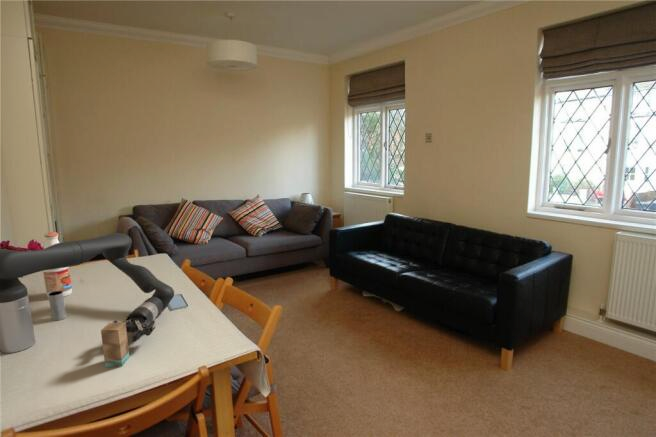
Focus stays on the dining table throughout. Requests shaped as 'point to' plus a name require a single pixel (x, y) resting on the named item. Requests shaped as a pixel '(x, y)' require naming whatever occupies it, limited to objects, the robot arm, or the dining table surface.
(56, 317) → the planter
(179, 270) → the dining table surface
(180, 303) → the smartphone
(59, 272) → the white strawberry milk bottle
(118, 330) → the brown tall block
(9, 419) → the dining table surface
